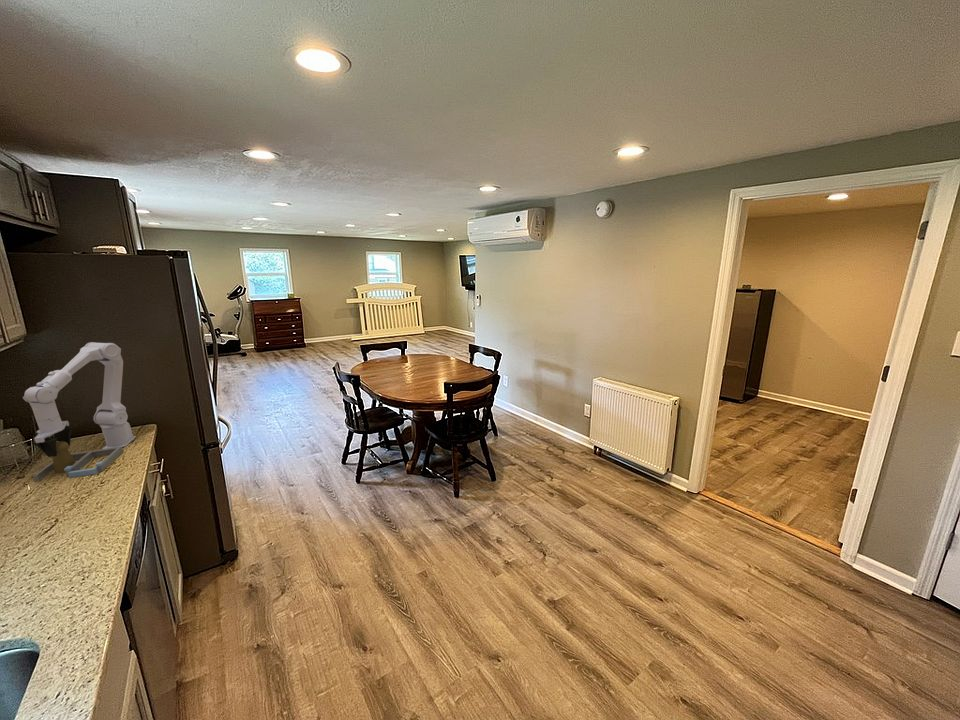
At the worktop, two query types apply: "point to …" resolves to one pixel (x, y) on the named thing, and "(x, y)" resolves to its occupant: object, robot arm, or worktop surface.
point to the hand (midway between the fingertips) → (59, 451)
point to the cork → (62, 457)
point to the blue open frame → (83, 463)
